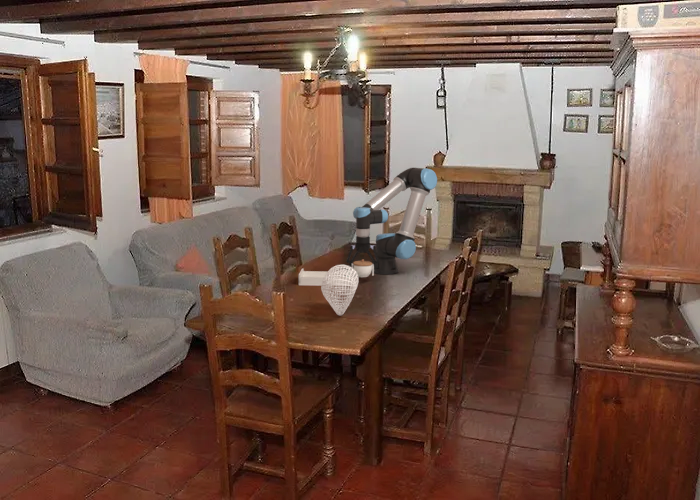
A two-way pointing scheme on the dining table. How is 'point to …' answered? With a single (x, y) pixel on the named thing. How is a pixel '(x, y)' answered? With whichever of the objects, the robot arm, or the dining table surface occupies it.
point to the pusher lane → (316, 278)
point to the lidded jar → (362, 267)
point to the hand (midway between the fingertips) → (362, 275)
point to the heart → (327, 283)
